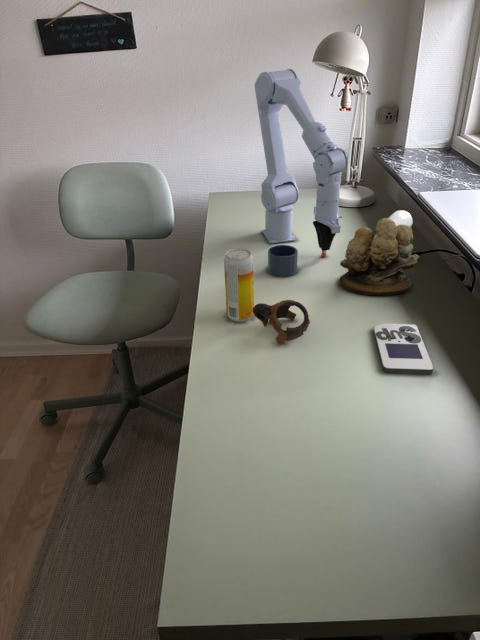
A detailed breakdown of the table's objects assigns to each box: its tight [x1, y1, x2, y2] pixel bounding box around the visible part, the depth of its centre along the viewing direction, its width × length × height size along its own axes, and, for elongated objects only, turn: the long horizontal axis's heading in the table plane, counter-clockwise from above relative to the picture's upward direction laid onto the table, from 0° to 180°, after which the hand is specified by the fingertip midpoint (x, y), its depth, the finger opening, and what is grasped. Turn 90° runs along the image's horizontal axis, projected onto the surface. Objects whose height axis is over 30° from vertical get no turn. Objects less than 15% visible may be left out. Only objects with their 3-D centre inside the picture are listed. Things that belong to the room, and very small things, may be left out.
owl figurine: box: [339, 217, 420, 297], centre depth 113 cm, size 18×12×17 cm, turn 87°
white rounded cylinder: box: [374, 209, 414, 236], centre depth 137 cm, size 7×7×15 cm
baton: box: [321, 250, 327, 259], centre depth 130 cm, size 1×1×8 cm
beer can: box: [223, 248, 255, 323], centre depth 103 cm, size 6×6×15 cm
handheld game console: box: [373, 323, 434, 375], centre depth 95 cm, size 9×15×1 cm, turn 175°
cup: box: [267, 244, 299, 278], centre depth 124 cm, size 7×7×6 cm
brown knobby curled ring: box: [253, 299, 311, 345], centre depth 100 cm, size 12×10×8 cm
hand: (324, 248), depth 130 cm, fingers closed on baton, 1 cm apart
